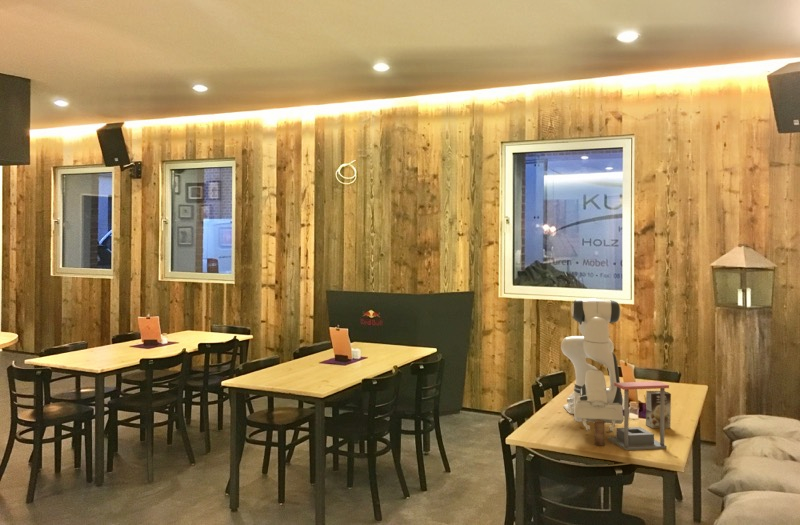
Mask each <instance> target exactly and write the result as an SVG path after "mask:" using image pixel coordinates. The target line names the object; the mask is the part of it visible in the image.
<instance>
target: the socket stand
mask: <svg viewBox="0 0 800 525" xmlns="http://www.w3.org/2000/svg"><path fill="white" fill-rule="evenodd" d="M614 386H616V387H619V388H621V390H624V393H623V394H624V395H623V396H624V397H623V403H624V406H623V407H624V408H623V417H624V420H623V422H624V426H623V427H616V430H615V433H616V434H615V435H616V436H607V441H610V442H612V443H613V444H615V445H617V446H618V447H620V448H621V449H622V450H624V451H640V450H643V451H644V450H659V449H661V450H663V449H667V445H666V444H665V428H664V410H665V391H666V390H665V389H669V388H670V384H666V383H664V382H661V381H653V380H652V381H629V382H628V381H626V382H620V383H614ZM651 389H658V390H659V389H660V390H659V391H660V428H659V430H660V431H659V436H660V437H659V440H656V439H655V434H654V433H652V432H651V431H649V430H647V429H645V428H643V427H641V426H637V427H636V426H634V427H632V426H631V427H629V402H630V401H629V399H630V398H629V396H630V395H629V392H630V391H629V390H651Z"/></svg>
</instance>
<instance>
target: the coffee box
mask: <svg viewBox="0 0 800 525" xmlns="http://www.w3.org/2000/svg"><path fill="white" fill-rule="evenodd" d="M645 394H646V395H645V396H646V399H645V406H646V407H645V425H646V426H648V427H649V428H651V429H656V428H657V429H660V390H646V393H645ZM671 405H672V394H671V393H670V392H668V391H666V390H665V410H664V429H671V415H672V414H671V413H672V412H671V410H672V406H671Z"/></svg>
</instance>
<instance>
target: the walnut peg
mask: <svg viewBox="0 0 800 525" xmlns="http://www.w3.org/2000/svg"><path fill="white" fill-rule="evenodd" d="M605 424H606V423H605V421H603V420H595V422H594V446H598V447H605V435H606V434H605V432H606V431H605V429H606V428H605V427H606V426H605Z"/></svg>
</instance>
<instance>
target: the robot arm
mask: <svg viewBox="0 0 800 525" xmlns="http://www.w3.org/2000/svg"><path fill="white" fill-rule="evenodd" d="M621 310H622V309H621V306H620V303H618V301H615V300H606V299H599V298H588V299H586V298H585V299H582V298H578V299H575V300H574V301H572V304H571V307H570V314H571V316H572V319H573V320H574V321H575V322H577V323H578V326H577V329H578V332H579V333H580V334H581V335H571V336H570V335H569V336H566V337H564V338H563V339H562V340H561V343H560V350H561V352H562V354H563V355H564V356H565V357H567V358H568V359H569V360H570V362H571V364H573V368H574V371H575V383H574V386H573V387H574V388H573V392H572V393H570V395H568V398H566V402H567V404H563V408H564V409H565V410H566V411H567V412H568V413H569V414H571V415H573V420H574V421H575V422H580V423H581V422H582V424H583V426H584V427H585V431H588V432H590V431H591V426H590V425H591V424H590V425H588V423H595V420H603V421H605V424H610V425H611V426H610V425H609V426H608V429H609V430H608V431H609V433H614V428H615V426H616V424H619V425H620V424H622V423H623V422H624V408H623V407H624V406H623V403H624V397H623V393H622V389H621V388H619V387H616V386H614V383H621V380H620V374H619V373H620V371H619V366H618V359H617V356H616V354H615V353H614V349H615V345H614V342H613V341H612V340H611V338H610V330H609V328H610V326H609V324H613V323H617V322H618V321H619V319H620V317H621V313H622V311H621ZM587 359H590V360H592V361H595V362H597V363H599V364H601V365H604V366H605V367H606V368H607V369H608V376H609V383H610V386H609V387H607V383H606V378H605V374H604V372H603V371H602V370H599V369H598V368H597V367H595V366H594V365H592V364H590V363H588V362H587Z"/></svg>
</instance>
